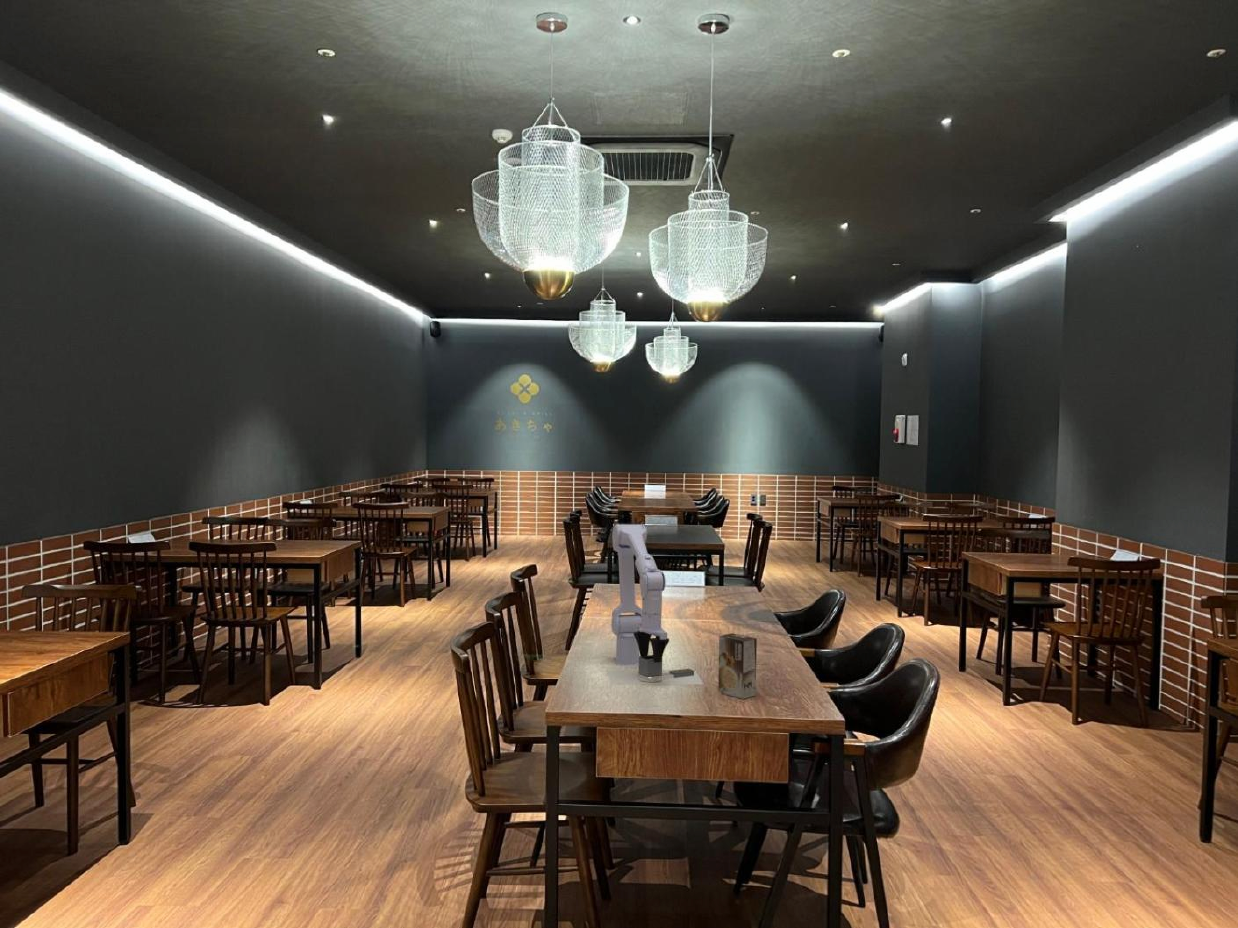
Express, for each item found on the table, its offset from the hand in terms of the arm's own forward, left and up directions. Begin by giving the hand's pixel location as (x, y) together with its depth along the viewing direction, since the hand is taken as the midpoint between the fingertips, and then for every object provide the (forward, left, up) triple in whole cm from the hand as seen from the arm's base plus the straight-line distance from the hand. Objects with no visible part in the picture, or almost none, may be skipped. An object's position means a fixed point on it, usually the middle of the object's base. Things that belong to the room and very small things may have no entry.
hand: (650, 659), depth 255 cm
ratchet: (-2, +5, -6) cm, 8 cm away
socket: (0, 0, -5) cm, 5 cm away
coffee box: (+13, +23, -7) cm, 27 cm away
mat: (-3, +2, -7) cm, 7 cm away
